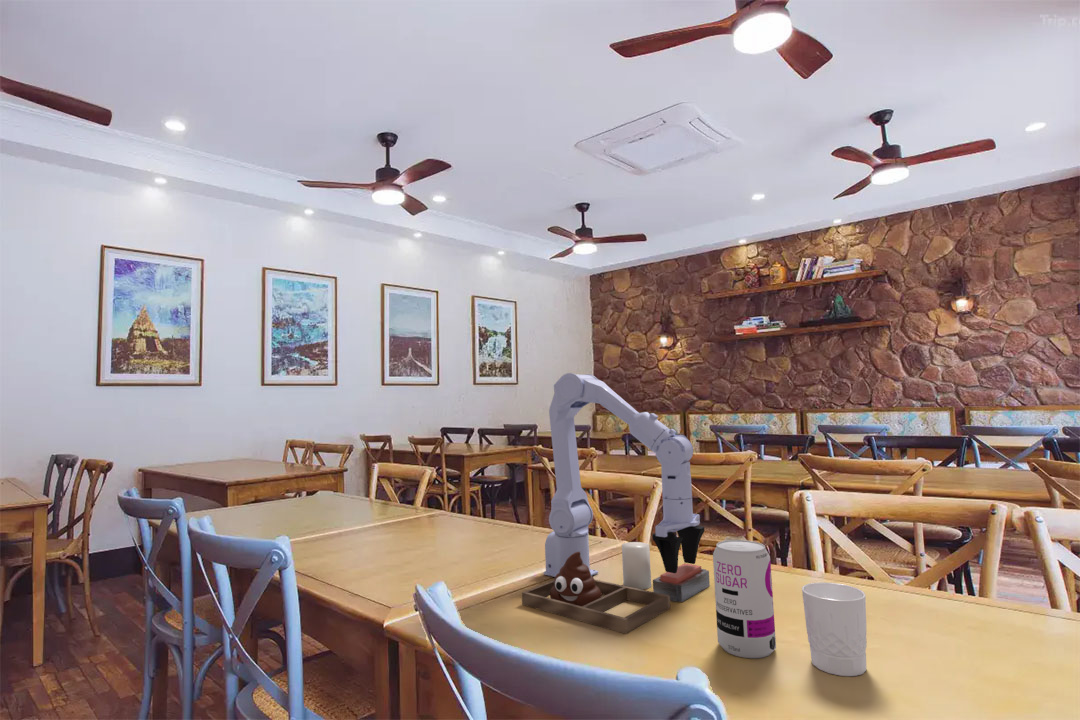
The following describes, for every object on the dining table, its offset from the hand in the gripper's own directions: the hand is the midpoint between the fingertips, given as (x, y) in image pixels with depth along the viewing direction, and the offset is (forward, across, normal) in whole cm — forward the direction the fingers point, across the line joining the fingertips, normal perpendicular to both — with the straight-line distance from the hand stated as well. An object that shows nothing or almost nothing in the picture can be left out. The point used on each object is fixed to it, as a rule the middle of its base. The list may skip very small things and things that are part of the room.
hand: (680, 567), depth 112 cm
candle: (+5, +8, -8) cm, 12 cm away
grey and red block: (+4, 0, 0) cm, 5 cm away
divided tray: (+5, -17, +9) cm, 20 cm away
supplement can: (+5, -18, -20) cm, 27 cm away
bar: (+4, 0, 0) cm, 4 cm away
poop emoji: (+5, -17, +13) cm, 22 cm away
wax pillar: (+5, -2, +9) cm, 10 cm away
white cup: (+5, -16, -32) cm, 36 cm away
